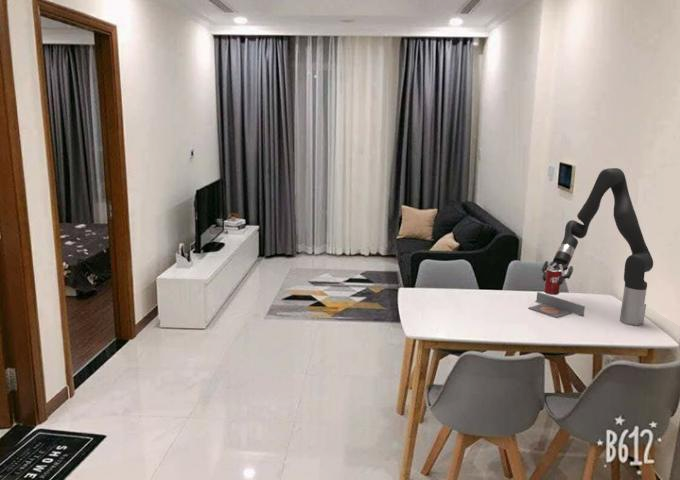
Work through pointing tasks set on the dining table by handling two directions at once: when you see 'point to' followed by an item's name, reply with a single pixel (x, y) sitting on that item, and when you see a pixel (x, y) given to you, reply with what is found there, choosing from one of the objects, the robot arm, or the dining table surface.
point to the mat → (550, 310)
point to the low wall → (560, 303)
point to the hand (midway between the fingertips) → (551, 281)
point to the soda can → (552, 281)
